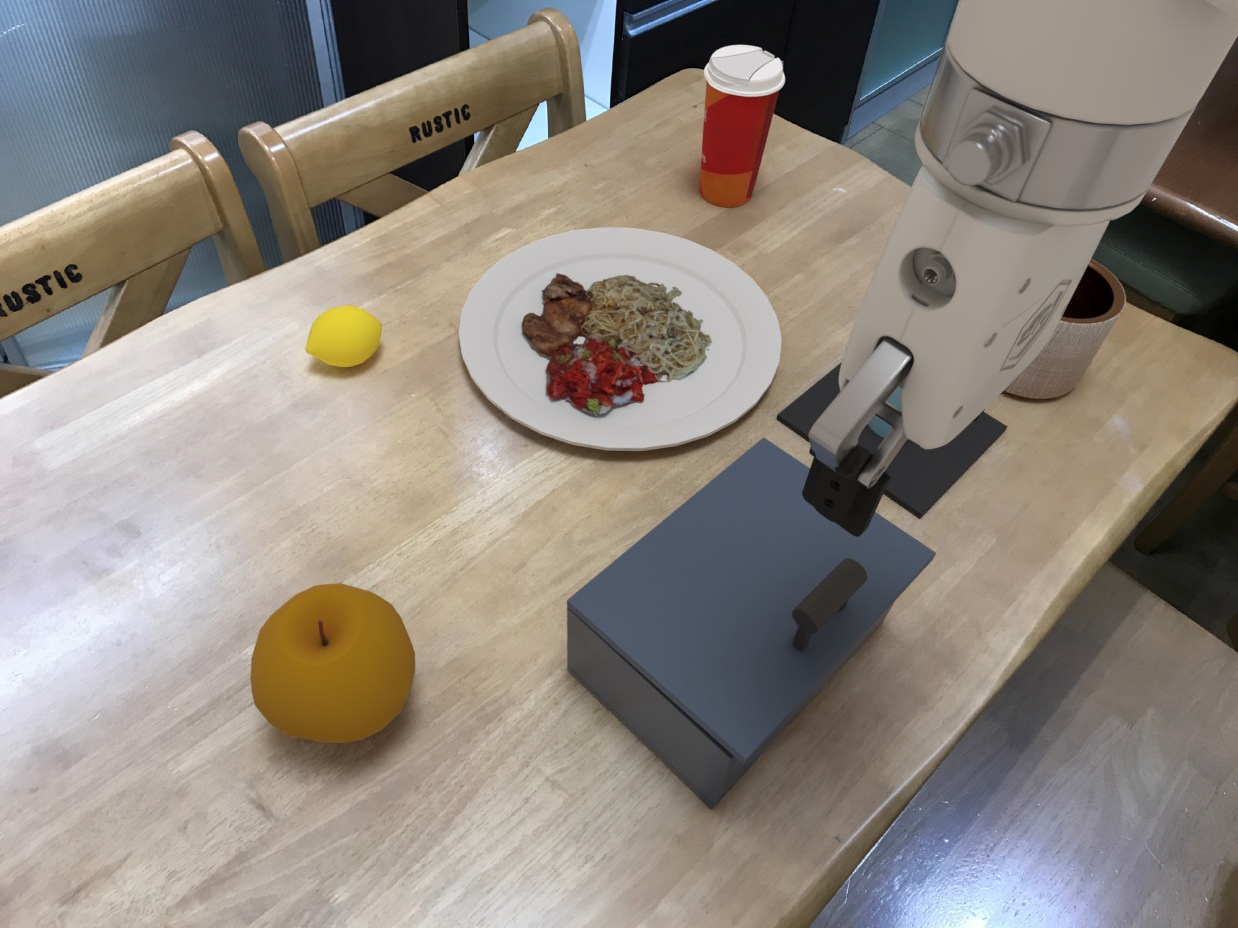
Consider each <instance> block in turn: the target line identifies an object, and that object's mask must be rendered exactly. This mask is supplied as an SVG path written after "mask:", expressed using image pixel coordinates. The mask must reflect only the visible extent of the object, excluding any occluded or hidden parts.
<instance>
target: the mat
mask: <svg viewBox="0 0 1238 928" xmlns="http://www.w3.org/2000/svg"><path fill="white" fill-rule="evenodd" d="M841 363H842V361H841V362H839V363H838V364H837V365H835V367H834V368H832V369H831V370H830V371H829V372H827V373H826V374H824V376H823V377H821V378H820V379H818V380H817V381H816V382H814V384H813V385H811V386H810V387H809V388H808V389H806V391H804V392H803V393H802V394H800V395H799V396H798V397H797V398H795V399H794V400H793V401H792V402H791V403H789V404H788V405H787V406H785V408H783V409H782V410H781V411H780V412H779V413H777V415H776V418H775V419H776V420H777V421H779V422H780V423H781V424H782V425H785V426H786V427H787V428H789V429H790V430H792V431H793V432H795V433H796V434H797V435H799V436H800V437H802V438H803V439H805V440H806V441H808V443H810V441H809V437H808V436H809V432H810V430H811V428H812V426H813V425H814V423H815V422H816V421H817V419H818V418H819V417H820V416H821V415H822V413H823V412H824V411H825V410H826V409H827V407H828V406H829V405H830V404H831V403H832V401H833V400H834V399H835V398H836V397H837V395H838V394H839V393H840V392H841V391H840V387H839V373H840V368H841ZM1007 429H1008V425H1006V424H1005V423H1003V422H1002V421H1000V420H998V419H997V418H995V417H993V416H992V415H990V414H988V413H986V412H985V411H984V412H983V414H982V415H981V416H980V417H979V418H978V419H977V420H976V421H975V422H971V423H970V424H969V425H968V426H967V427H966V428H965V429H964V430H963V431H961V432H960V433H959V434H958V435H957V436H956V437H955V438H954V439H953V440H951V441H950V442H949V443H947V444H946V445H944V446H941V447H938V448H934V449H924V448H922V447H920V445H918V444H916V443H915V442H913V441H911V440H910V439H908V440H906V441H905V443H904V444H903V446H902V447H901V449H900V450H899V451H898V453H897V454H896V456H895V457H894V459H893V460H892V461H891V463H890V464H889V466H888V467H887V469H886V470H885V472H886V473H887V474H888V475H889V476H890V477H891V478H890V481H889V483H888V485H887V487H886V489H885V491H884V494H883V495H885V496H887V497H888V498H889V499H890V500H892V501H894V502H895V503H897V504H898V505H899V506H901V507H902V508H904V509H905V510H907V511H908V512H910V514H912V515H914V516H915V517H917V518H918V519H922V517H924V516H925V514H926V513H928V511H929V510H931V508H932V507H933V506H934V505H935V504H936V503H937V502H938V501H940V499H941V498H942V497H943V496H944V495H945V494H946V493H947V492H948V491H949V489H951V487H953V486H954V484H955V483H956V482H958V480H960V478H961V477H962V476H963V475H964V474H965V473H966V472H967V471H968V470H969V469H970V468H971V467H972V466H973V465H974V464H975V463H976V462H977V461H978V460H979V459H980V457H982V456H983V454H984V453H986V452H987V450H988V449H989V448H990V447H991V446H992V445H993V444H994V443H995V442H996V441H997V440H998V439H999V438H1000V437H1001V436H1002V435H1003V434H1004V433H1005V431H1006V430H1007ZM883 439H884V438H883V437H881V436H879V435H878V434H876V433H875V432H874V431H873V430H872V429H871V428H870V427H869V425H868V424H867V425H866V426H865V427H864V429H863V430H862V432H861V433H860V435H859V437H858V444H859V445H861V446H862V447H864V448H865V449H867V450H868V451H870V452H871V453H872V454H874V452H875V451H876V449H877V448H878V446H879V445H880V444H881V442H882V441H883Z"/></svg>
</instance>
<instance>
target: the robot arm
mask: <svg viewBox="0 0 1238 928" xmlns="http://www.w3.org/2000/svg"><path fill="white" fill-rule="evenodd" d="M1237 38H1238V0H958V3H957V6H956V9H955V12H954V16H953V19H952V21H951V24H950V28H949V32H948V34H947V36H946V40H945V42H944V45H943V48H942V51H941V54H940V57H939V60H938V63H937V66H936V69H935V72H934V74H933V78H932V81H931V84H930V87H929V91H928V94H927V96H926V99H925V103H924V105H923V108H922V111H921V114H920V117H919V121H918V123H917V127H916V129H915V133H914V146H915V151H916V154H917V156H918V158H919V160H920V162H921V163H922V165H921V167H920V168H919V170H918V172H917V174H916V175H915V178H914V181H913V183H912V185H911V187H910V189H909V191H908V193H907V195H906V197H905V200H904V202H903V204H902V207H901V209H900V211H899V212H898V215H897V217H896V219H895V222H894V224H893V226H892V228H891V230H890V232H889V235H888V238H887V239H886V242H885V244H884V247H883V249H882V252H881V254H880V256H879V258H878V260H877V263H876V265H875V268H874V270H873V273H872V276H871V278H870V281H869V283H868V285H867V288H866V290H865V293H864V296H863V298H862V300H861V303H860V306H859V308H858V311H857V313H856V316H855V319H854V322H853V325H852V328H851V330H850V333H849V337H848V340H847V342H846V346H845V349H844V353H843V356H842V360H841V362H842V363H841V362H840V363H841V368H840V373H839V387H840V391H841V392H840V393H839V394H838V395H837V397H836V398H835V399H834V400H833V401H832V403H831V404H830V405H829V406H828V407H827V409H826V410H825V411H824V412H823V413H822V415H821V416H820V417H819V418H818V419H817V421H816V422H815V423H814V425H813V426H812V428H811V430H810V432H809V436H808V437H809V441H810V442H809V441H808V442H809V445H810V447H809V450H808V453H809V455H810V456H812V457H813V459H812V461H811V464H810V467H809V468H810V470H809V473H808V476H807V479H806V482H805V485H804V488H803V491H802V496H803V498H804V499H805V501H806V502H808V503H809V504H810V505H812V506H813V507H814V508H815V509H816V511H817V512H818V513H820V514H821V515H822V516H824V517H825V518H826V519H828V520H829V521H831V522H834V523H836V524H838V525H839V526H840V527H842V528H843V529H844V530H846V531H847V532H849V533H850V534H851V535H853V536H855V537H859V536H861V535H862V534H863V533H864V532H865V531H866V530H867V528H868V526H869V524H870V522H871V520H872V518H873V515H874V513H875V512H876V511H877V509H878V507H879V504H880V502H881V500H882V498H883V495H885V494H884V491H885V489H886V487H887V485H888V483H889V481H890V478H891V477H890V476H889V475H888V474H887V473H886V472H885V470H886V469H887V467H888V466H889V464H890V463H891V461H892V460H893V459H894V457H895V456H896V454H897V453H898V451H899V450H900V449H901V447H902V446H903V444H904V443H905V441H906V440H907V439H910V440H911V441H913V442H915V443H916V444H918V445H920V447H922V448H924V449H934V448H938V447H941V446H944V445H946V444H947V443H949V442H950V441H951V440H953V439H954V438H955V437H956V436H957V435H958V434H959V433H960V432H961V431H963V430H964V429H965V428H966V427H967V426H968V425H969V424H970V423H971V422H975V421H976V420H977V419H978V418H979V417H980V416H981V415H982V414H983V412H985V410H986V409H987V408H988V407H989V406H990V405H991V404H992V403H993V402H994V401H995V400H996V399H997V397H999V396H1000V395H1001V394H1002V393H1003V392H1005V391H1004V390H1005V389H1006V388H1007V387H1008V386H1009V385H1010V384H1011V383H1012V382H1013V380H1014V379H1015V378H1016V377H1017V376H1018V375H1019V374H1020V373H1021V372H1022V371H1023V370H1024V369H1025V368H1026V367H1027V366H1028V365H1029V364H1030V363H1031V362H1032V361H1033V360H1034V359H1035V358H1036V357H1037V355H1038V354H1039V353H1040V352H1041V350H1042V349H1043V348H1044V346H1045V345H1046V344H1047V342H1048V341H1049V339H1050V338H1051V336H1052V334H1053V332H1054V330H1055V329H1056V327H1057V325H1058V323H1059V321H1060V319H1061V317H1062V315H1063V313H1064V311H1065V309H1066V307H1067V305H1068V303H1069V301H1070V299H1071V297H1072V295H1073V293H1074V291H1075V289H1076V287H1077V285H1078V283H1079V281H1080V279H1081V278H1082V276H1083V274H1084V272H1085V270H1086V268H1087V266H1088V264H1089V262H1090V260H1091V259H1093V256H1094V254H1095V252H1096V251H1097V248H1098V246H1099V244H1100V242H1101V240H1102V238H1103V237H1104V234H1105V232H1106V230H1107V228H1108V226H1109V224H1110V221H1114V220H1117V219H1119V218H1121V217H1123V216H1125V215H1127V214H1130V213H1131V212H1132V211H1133V210H1135V208H1136V207H1138V206H1139V205H1140V204H1141V202H1142V200H1143V199H1144V196H1145V195H1146V194H1147V193H1148V191H1149V188H1150V187H1151V185H1152V184H1153V182H1154V180H1155V178H1156V177H1157V175H1158V173H1159V172H1160V170H1161V168H1162V166H1163V165H1164V164H1165V161H1166V159H1167V158H1168V156H1169V155H1170V153H1171V151H1172V149H1173V148H1174V146H1175V144H1176V142H1177V141H1178V139H1179V137H1180V135H1181V134H1182V132H1183V130H1184V129H1185V127H1186V126H1187V124H1188V122H1189V120H1190V119H1191V117H1192V115H1193V113H1194V112H1195V110H1196V108H1197V106H1198V105H1199V102H1200V100H1202V97H1203V96H1204V94H1205V93H1206V91H1207V89H1208V87H1209V86H1210V85H1211V82H1212V80H1213V79H1214V77H1215V75H1216V74H1217V72H1218V71H1219V69H1220V68H1221V65H1222V64H1223V62H1224V61H1225V59H1226V57H1227V55H1228V53H1229V51H1230V50H1231V48H1232V46H1233V45H1234V43H1235V41H1236V39H1237ZM898 386H899V387H900V388H902V391H901V406H902V411H901V410H899V409H898V408H896V407H895V406H893V405H892V404H890V403H889V402H887V399H888V398H889V397H890V396H891V395H892V393H893V392H894V391H895V390H896V389H897V387H898ZM874 415H876V416H877V417H879V418H880V419H882V420H883V421H885V422H886V423H888V424H889V425H891V426H892V428H891V429H890V431H889V432H888V433H887V435H886V436H885V438H884V439H883V441H882V442H881V444H880V445H879V446H878V448H877V449H876V451H875V452H874V454H872V453H871V452H870V451H868V450H867V449H865V448H864V447H862V446H861V445H859V444H858V437H859V435H860V433H861V432H862V430H863V429H864V427H865V426H866V425H867V424H868V422H869V421H870V420H871V419H872V418H873V416H874Z"/></svg>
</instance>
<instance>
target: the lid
mask: <svg viewBox="0 0 1238 928" xmlns="http://www.w3.org/2000/svg"><path fill="white" fill-rule="evenodd" d="M809 470H810V467H809V466H808V465H806V464H804V463H803V462H801V461H800V460H799V459H797V458H796V457H794V456H793V455H791V454H790V453H788V452H786V451H785V450H784V449H782V448H781V447H779V446H778V445H776V444H775V443H773V442H772V441H770V440H768V439H767V438H766V437H764V436H763V437H762V438H761V439H760V440H759V441H757V442H756V443H755V444H753V445H752V446H751V447H750V448H749V449H747V451H745V452H744V453H742V454H741V455H740V456H739V457H738V458H736V459H735V460H734V461H733V462H732V463H730V465H728V466H727V467H726V468H724V469H723V470H722V471H721V472H720V473H718V474H717V475H716V476H715V477H713V478H712V479H711V480H710V481H709V482H707V483H706V484H705V485H704V486H703V487H701V488H700V489H699V490H698V491H696V493H694V494H693V495H692V496H691V497H689V498H688V499H687V500H686V501H685V502H684V503H682V504H681V505H680V506H679V507H677V508H676V509H675V510H674V511H673V512H671V513H670V514H669V515H668V516H666V518H664V519H663V520H662V521H661V522H660V523H658V524H657V525H656V526H655V527H653V528H652V529H651V530H650V531H648V532H647V533H646V534H645V535H644V536H642V537H641V538H640V539H638V541H637V542H635V543H634V544H633V545H632V546H630V547H629V548H628V549H627V550H625V552H623V553H622V554H621V555H620V556H618V557H617V558H616V559H615V560H613V561H612V562H611V563H610V564H609V565H608V566H606V567H605V568H604V569H602V570H601V571H600V572H598V574H596V575H595V576H594V577H593V578H591V580H589V581H588V582H587V583H586V584H584V586H582V587H581V588H579V589H578V590H577V591H576V592H575V593H573V594H572V595H571V596H570V597H569V598H568V599H567V600H566V608H567V607H568V608H569V609H570V610H571V611H573V612H574V613H575V614H576V615H577V616H578V617H579V618H580V619H581V620H583V621H584V622H585V623H586V624H587V625H588V626H589V627H590V628H592V629H593V630H594V631H595V632H596V633H597V634H598V635H599V636H600V637H602V638H603V639H604V640H605V641H606V642H607V643H608V644H609V645H611V646H612V647H613V648H614V649H615V650H616V651H617V652H618V653H619V654H621V655H622V656H623V657H624V658H625V659H626V660H627V661H628V662H630V663H631V664H632V665H633V666H634V667H635V668H636V669H637V670H638V671H640V672H641V673H642V674H643V675H644V676H645V677H646V678H647V679H649V680H650V681H651V682H652V683H653V684H654V685H655V686H656V687H657V688H659V689H660V690H661V691H662V692H663V693H664V694H665V695H666V696H668V697H669V698H670V699H671V700H672V701H673V702H674V703H675V704H677V705H678V706H679V707H680V708H681V709H682V710H683V711H684V712H685V713H687V714H688V715H689V716H690V717H691V718H692V719H693V720H694V721H696V722H697V723H698V724H699V725H700V726H701V727H702V728H703V729H704V730H706V731H707V732H708V733H709V734H710V735H711V736H712V737H713V738H715V739H716V740H717V741H718V742H719V743H720V744H721V745H722V746H723V747H725V748H726V749H727V750H728V751H729V752H730V753H731V754H732V755H734V756H735V757H736V758H737V759H738V760H739V761H740V762H741V763H742V764H746V763H747V762H748V760H749V759H750V758H751V757H752V756H753V755H754V754H755V753H756V752H757V751H758V750H759V748H760V747H761V746H762V745H763V744H764V743H765V742H766V741H767V740H768V739H769V738H770V737H771V735H772V734H773V733H774V732H775V731H776V730H777V729H778V728H779V727H780V726H781V725H782V723H783V722H784V721H785V720H786V719H787V718H788V717H789V716H790V715H791V714H792V713H793V711H794V710H795V709H796V708H797V707H798V706H799V705H800V704H801V703H802V702H803V701H804V699H805V698H806V697H807V696H808V695H809V694H810V693H811V692H812V691H813V690H814V689H815V688H816V686H817V685H818V684H819V683H820V682H821V681H822V680H823V679H824V678H825V677H826V676H827V674H828V673H829V672H830V671H831V670H832V669H833V668H834V667H835V666H836V665H837V664H838V662H839V661H840V660H841V659H842V658H843V657H844V656H845V655H846V654H847V653H848V652H849V651H850V649H851V648H852V647H853V646H854V645H855V644H856V643H857V642H858V641H859V640H860V639H861V637H862V636H863V635H864V634H865V633H866V632H867V631H868V630H869V629H870V628H871V627H872V625H873V624H874V623H875V622H876V621H877V620H878V619H879V618H880V617H881V616H882V615H883V613H884V612H885V611H886V610H887V609H888V608H889V607H890V606H891V605H892V604H893V603H894V604H895V602H896V601H897V599H898V598H900V597H901V595H902V594H903V593H904V592H905V591H906V590H907V589H908V588H909V587H910V585H911V584H912V583H913V582H914V581H915V580H916V579H917V578H918V577H919V575H920V574H921V573H923V572H924V570H925V569H926V568H927V567H928V566H929V565H930V563H931V562H932V561H933V560H934V558H935V557H936V554H937V552H936V551H934V550H933V549H932V548H930V547H929V546H927V545H926V544H924V543H922V542H921V541H920V540H918V539H916V538H915V537H913V535H910V534H909V533H908V532H907V531H905V530H904V529H901V528H900V527H899V526H897V525H896V524H894V523H893V522H891V521H890V520H888V519H886V518H885V517H883V516H882V515H880V514H879V513H878V512H876V511H875V513H874V515H873V518H872V520H871V522H870V524H869V526H868V528H867V530H866V531H865V532H864V533H863V534H862V535H861V536H859V537H855V536H853V535H851V534H850V533H849V532H847V531H846V530H844V529H843V528H842V527H840V526H839V525H838V524H836V523H834V522H831V521H829V520H828V519H826V518H825V517H824V516H822V515H821V514H820V513H818V512H817V511H816V509H815V508H814V507H813V506H812V505H810V504H809V503H808V502H806V501H805V499H804V498H803V496H802V491H803V488H804V485H805V482H806V479H807V476H808V473H809ZM894 604H893V605H894Z"/></svg>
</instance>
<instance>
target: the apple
mask: <svg viewBox="0 0 1238 928" xmlns="http://www.w3.org/2000/svg"><path fill="white" fill-rule="evenodd" d="M250 661H251V664H250V689H251V694H252V699H253V703H254V706H255V708H256V709H257V710H258V711H259V712H260V714H261V715H262V716H263V717H264V719H265V720H266V721H267V722H268V723H269V724H270V725H271V726H272V727H273V728H275V729H276V730H278V731H280V732H281V733H283V734H285V735H286V736H288V737H291V738H296V739H302V740H307V741H308V740H309V741H313V742H320V743H327V744H329V743H330V744H331V743H332V744H333V743H335V744H350V743H354V742H358V741H363V740H365V739H367V738H369V737H371V736H373V735H375V734H377V733H379V732H381V731H383V730H384V729H385V728H386V727H387V726H388V725H389V724H391V722H392V721H393V720H394V719H395V718H396V717H397V716H398V715H399V714H400V713H401V712H402V711H403V709H404V706H405V704H406V701H407V698H408V697H409V694H410V691H411V689H412V686H413V681H414V678H415V673H416V651H415V649H414V645H413V643H412V640H411V637H410V635H409V633H408V631H407V628H406V626H405V624H404V620H403V619H402V616H401V615H400V614H399V612H398V611H397V609H396V608H395V607H394V605H393V604H392V603H391V602H389V601H387V600H386V599H384V598H383V597H382V596H380V595H378V594H376V593H374V592H372V591H370V590H367V589H364V588H359V587H356V586H352V585H348V584H345V583H340V582H339V583H323V584H316V585H313V586H311V587H309V588H306V589H304V590H302V591H301V592H299V593H296V594H294V595H293V596H292V597H291V598H289V599H288V600H287V601H285V603H283V604H282V605H281V606H280V607H278V609H276V610H275V611H274V612H272V614H271V615H270V616H269V617H268V618H267V619H266V621H265V622H264V624H263V625H262V626H261V627H260V629H259V631H258V634H257V638H256V642H255V644H254V648H253V651H252V655H251V659H250Z"/></svg>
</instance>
